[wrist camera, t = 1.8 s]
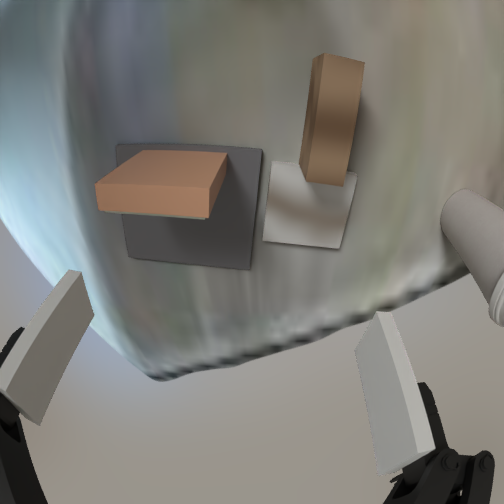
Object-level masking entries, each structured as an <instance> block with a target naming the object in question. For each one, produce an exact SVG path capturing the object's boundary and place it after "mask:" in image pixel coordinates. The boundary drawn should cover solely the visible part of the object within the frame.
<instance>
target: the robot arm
mask: <svg viewBox="0 0 504 504" xmlns="http://www.w3.org/2000/svg"><path fill="white" fill-rule="evenodd" d="M93 317H94V313H93V310H92V307H91V303H90V300H89V297H88V294H87V290H86V287H85V283H84V280H83V276H82V272H78V271H73V270H68V271H67V272H66V274H65V275H64V276H63V277H62V279H61V280H60V281H59V282H58V284H57V285H56V286H55V288H54V289H53V290H52V291H51V293H50V294H49V295H48V297H47V298H46V299H45V301H44V302H43V304H42V305H41V306H40V308H39V309H38V311H37V312H36V313H35V315H34V316H33V318H32V319H31V320H30V322H29V324H28V325H27V326H26V328H22V327H20V328H19V329H18V330H17V331H15V332H14V333H13V334H12V335H11V337H10V338H9V340H8V341H7V344H6V345H5V346H4V348H3V349H2V352H1V353H0V504H48V503H47V500H46V498H45V496H44V493H43V491H42V489H41V486H40V483H39V480H38V478H37V475H36V472H35V470H34V466H33V463H32V460H31V457H30V454H29V450H28V447H27V444H26V440H25V436H24V432H23V428H22V424H21V420H20V418H19V413H21V414H22V415H23V416H24V417H25V418H27V419H28V420H30V421H32V422H34V423H36V424H37V425H39V426H40V424H41V422H42V419H43V417H44V415H45V412H46V410H47V408H48V405H49V403H50V401H51V399H52V396H53V394H54V392H55V390H56V388H57V385H58V383H59V381H60V379H61V377H62V375H63V373H64V371H65V369H66V367H67V365H68V363H69V361H70V359H71V357H72V355H73V353H74V351H75V350H76V348H77V346H78V344H79V342H80V340H81V338H82V336H83V335H84V333H85V331H86V329H87V327H88V326H89V324H90V322H91V320H92V319H93ZM355 354H356V359H357V363H358V367H359V372H360V377H361V381H362V386H363V390H364V396H365V401H366V406H367V411H368V416H369V422H370V427H371V433H372V439H373V446H374V452H375V459H376V466H377V474H378V476H381V475H386V474H391V473H395V472H397V471H398V470H400V469H402V470H403V473H402V474H400V475H398V476H396V477H395V478H393V479H392V480H391V481H390V482H391V483H392V482H395V481H397V482H396V483H395V484H394V487H393V489H392V490H391V492H390V494H389V495H388V497H387V498H386V500H385V501H384V503H383V504H489V502H490V497H491V491H492V483H493V476H494V467H495V462H494V458H493V455H492V454H491V453H490V452H489V451H481V452H480V453H478V454H477V455H475V456H468V455H459V454H458V453H457V452H456V451H455V450H454V449H450V448H449V447H448V444H447V442H446V438H445V434H444V430H443V427H442V423H441V420H440V417H439V414H438V413H437V412H438V410H437V407H436V405H435V400H434V397H433V395H432V392H431V390H430V389H429V388H428V386H427V385H426V383H425V382H423V383H417V381H416V378H415V375H414V372H413V369H412V367H411V364H410V361H409V358H408V355H407V353H406V350H405V347H404V344H403V342H402V339H401V337H400V334H399V331H398V329H397V326H396V324H395V321H394V319H393V316H392V314H391V312H379V311H376V313H375V315H374V317H373V319H372V321H371V323H370V324H369V326H368V328H367V330H366V332H365V333H364V335H363V337H362V339H361V341H360V342H359V344H358V346H357V347H356V349H355ZM461 490H462V495H461V496H460V491H461Z"/></svg>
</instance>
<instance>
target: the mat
mask: <svg viewBox="0 0 504 504" xmlns="http://www.w3.org/2000/svg"><path fill="white" fill-rule="evenodd" d="M143 150H176V151H202V152H219V153H227V166H226V175H225V178H224V180H223V183H222V185H221V188H220V190H219V193H218V195H217V198H216V200H215V203H214V205H213V208H212V211H211V213H210V216H209V218H205V220H203V219H191V218H178V217H165V216H151V215H137V214H122V219H123V226H124V233H125V239H126V245H127V251H128V257H131V258H140V259H149V260H158V261H167V262H176V263H185V264H195V265H204V266H214V267H224V268H234V269H244V270H249V268H250V258H251V249H252V239H253V230H254V220H255V210H256V201H257V191H258V182H259V172H260V163H261V153H262V149H255V148H244V147H232V146H217V145H197V144H118V145H116V160H117V167H119V166H120V165H121V164H123V163H124V162H126V161H127V160H129V159H130V158H132V157H133V156H135V155H136V154H138V153H139V152H141V151H143Z"/></svg>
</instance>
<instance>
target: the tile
mask: <svg viewBox="0 0 504 504" xmlns="http://www.w3.org/2000/svg"><path fill="white" fill-rule="evenodd" d="M226 166H227V153H219V152H202V151H176V150H143V151H141V152H139V153H138V154H136V155H135V156H133V157H132V158H130V159H129V160H127V161H126V162H124V163H123V164H121V165H120V166H119V167H117V168H116V169H114V170H113V171H111V172H110V173H109V174H107V175H106V176H105V177H103V178H102V179H100V180H99V181H98V182H96V183H95V189H96V197H97V203H98V210H102V211H104V212H105V213H122V214H137V215H151V216H165V217H178V218H191V219H203V220H205V218H209V216H210V213H211V211H212V208H213V205H214V203H215V200H216V198H217V195H218V193H219V190H220V188H221V185H222V183H223V180H224V178H225V175H226Z"/></svg>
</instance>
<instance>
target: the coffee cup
mask: <svg viewBox="0 0 504 504" xmlns="http://www.w3.org/2000/svg"><path fill="white" fill-rule="evenodd" d="M441 228H442V230H443V232H444V234H445V235H446V236H447V238H448V239H449V241H450V242H451V244H452V245H453V246H454V248H455V249H456V251H457V252H458V254H459V255H460V257H461V258H462V260H463V262H464V263H465V265H466V266H467V268H468V269H469V271H470V273H471V274H472V275H473V278H474V279H475V281H476V283H477V284H478V286H479V288H480V290H481V291H482V293H483V295H484V297H485V299H486V300H487V303H488V304H489V315H490V318H491V319H492V320H493V321H494V322H495V323H496V324H498V325H499V326H502V327H504V210H503V209H501V208H500V207H498V206H496V205H495V204H493V203H492V202H490V201H488V200H487V199H485V198H483V197H482V196H480V195H478V194H477V193H475V192H473V191H471V190H468V189H463V190H460V191H457V192H456V193H454V194H453V195H452V196H451V197H450V198H449V199H448V201H447V202H446V204H445V205H444V208H443V210H442V214H441Z"/></svg>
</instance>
